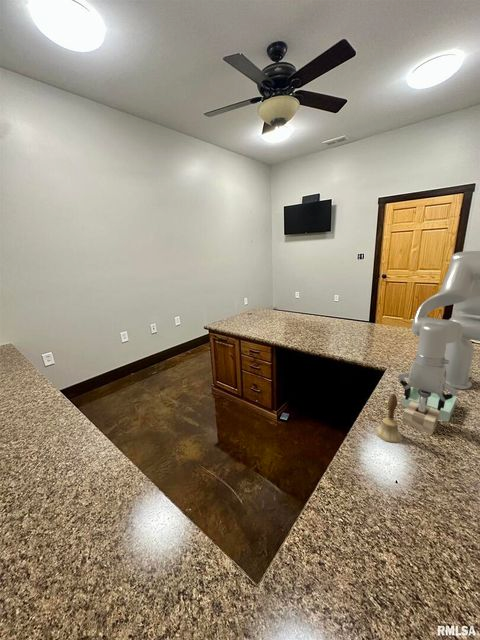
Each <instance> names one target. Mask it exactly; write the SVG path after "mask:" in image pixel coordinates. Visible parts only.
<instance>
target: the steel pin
mask: <svg viewBox="0 0 480 640" xmlns="http://www.w3.org/2000/svg"><path fill="white" fill-rule="evenodd" d="M418 394H419V395H420V399H419V406H418V412H419V413H422V414H424V415H426V408H427V402H428V397H430V396H431V392H427V391H424V390H421V389H418Z"/></svg>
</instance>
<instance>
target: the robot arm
mask: <svg viewBox="0 0 480 640" xmlns="http://www.w3.org/2000/svg"><path fill="white" fill-rule="evenodd" d="M449 263H450V264H449V266H448V269H447V271H446V274H445V276H444V278H443V282H442V284H441V287H440V290H439V292H437V293H436V294H433V295H431V296H430V297H428V298H427V299H426V300H425V301H424V302H422V303H421V304H420V305H419V307H418V308H417V310H416V312H415V315H414V318H413V320H412V324H411V332H412V334H413V335H415V336H416V337H418V343H417V351H416V358H414V359H413V362H412V364H411V367H410V370H409V372H408V373H400V374H398V375H397V378H398V381H399V383H400V384H401V385H402V387H403V390H404V393H403V396H406V397H405V400H408V399H409V397H410V393H411V387H414V388H417V389H421V390H424V391H427V392H431V393H434V394H437V395H438V396H439V398H440V399H439V402H438V408H437V410H438V411H440V410H441V408H444V405H445V400H448V399H451V398H452V397H453V396H456V395H457V394H458V393H459V391H458V390H468V389H471V388H472V385H473V383H472V382H471V381H470V380H469V379H470V378H469V377H470V373H471V366H472V363H473V356H474V354H475V353H474V352H475V348H474V345H473V344H472V342H471V341H476V342H480V250H469V251H468V250H467V251H459V252H456V253H453V254H452V255H451V257H450V260H449ZM451 305H454V310H455V312H457V313H459V314H464V315H456V316H452V317H450V318H449V319H442V318H436V317H431V316H430V317H429V316H428V315H429V314H430V313H431V312H432V311H434V310H436V309H439V308H443V307H446V306H451ZM466 315H470V316H466ZM474 316H477V317H474ZM478 316H479V317H478ZM405 378H406V379H407V378H408V379H407V381H406V380H405ZM444 390H448V391H449V393H446V392H445V391H444ZM445 393H446V394H445Z"/></svg>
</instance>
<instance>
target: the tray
mask: <svg viewBox="0 0 480 640" xmlns="http://www.w3.org/2000/svg"><path fill="white" fill-rule="evenodd" d="M444 393H445V394H447V393H446V392H444ZM405 397H406V396H404V395H403V397H402V403H401V406H402V407H404V408H407V406H408V405H409V404H410V402H411V401H413V402H416V403H419V399H420V395H419V394H418V389H417V388H414V387H411V393H410V397H409V399H408V400H405ZM439 399H440V398H439V396H438V395H437V394H434V393H431V396H430V397H428V402H427V406H428V407H431V408H434V409H437V408H438V402H439ZM457 402H458V396H456V395H455V396H453V397H452V398H451V399H448V400H445V405H444V408H441V410H440V414H439V420H440V421H444V422H447V423H449V421H450V419H451V417H452V415H453V413H454V410H455V408H456V406H457V405H456V404H457Z"/></svg>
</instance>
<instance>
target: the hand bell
mask: <svg viewBox="0 0 480 640" xmlns="http://www.w3.org/2000/svg"><path fill="white" fill-rule="evenodd" d="M397 405H398V398H397V395H396V394H395V393H391V394H390V396H389V398H388V401H387V407H388V415H387V417H384V418H383V419H382V421H381V424H380V425H378V426H377V427H376V428H375V429H374V433H375V434H376V436H377V437H378V438H379V439H381V440H383V441H384V442H388V443H391V444H392V443H393V444H397V443H401V442H402V440H403V434H402V433H401V432H400V430H399V425H398V421H396V420H395V419H394V416H395V410H396V409H397V407H398V406H397Z"/></svg>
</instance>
